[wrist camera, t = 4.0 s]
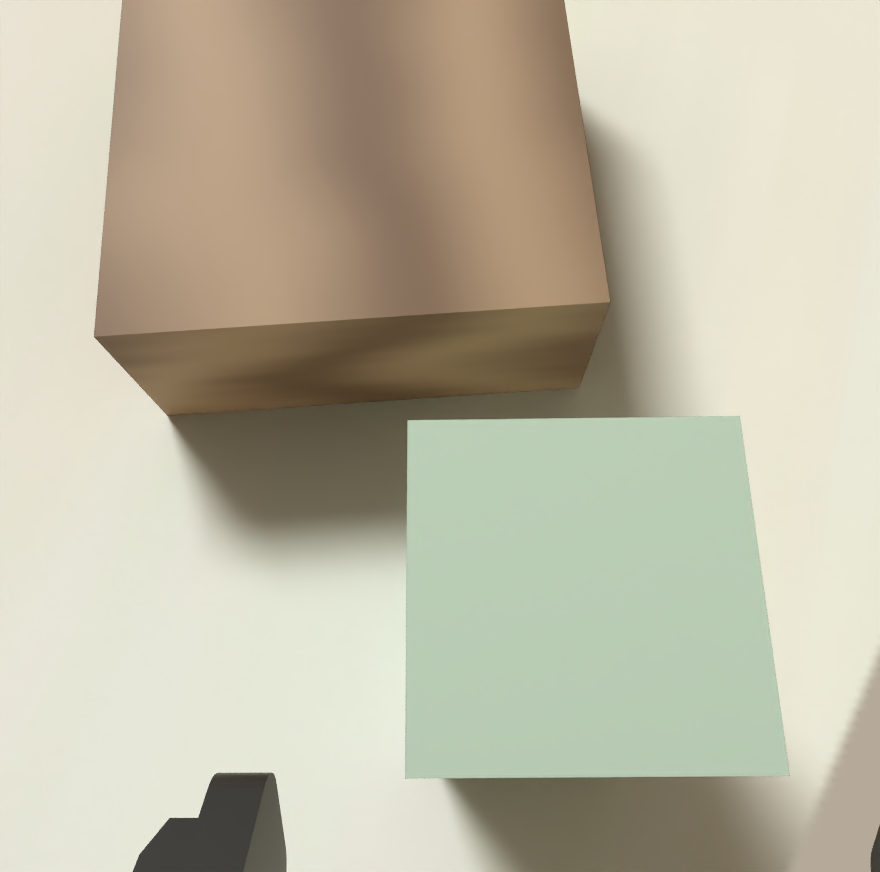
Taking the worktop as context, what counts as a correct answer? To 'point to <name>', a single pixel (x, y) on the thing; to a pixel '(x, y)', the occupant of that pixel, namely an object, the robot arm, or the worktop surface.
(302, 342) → the riser
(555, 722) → the sage green pillar
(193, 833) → the robot arm
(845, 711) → the worktop surface
